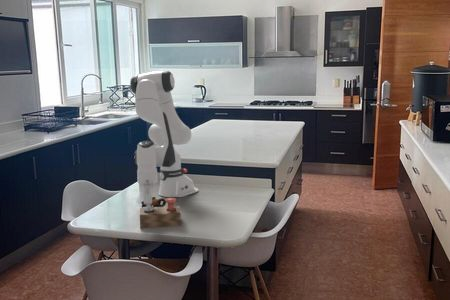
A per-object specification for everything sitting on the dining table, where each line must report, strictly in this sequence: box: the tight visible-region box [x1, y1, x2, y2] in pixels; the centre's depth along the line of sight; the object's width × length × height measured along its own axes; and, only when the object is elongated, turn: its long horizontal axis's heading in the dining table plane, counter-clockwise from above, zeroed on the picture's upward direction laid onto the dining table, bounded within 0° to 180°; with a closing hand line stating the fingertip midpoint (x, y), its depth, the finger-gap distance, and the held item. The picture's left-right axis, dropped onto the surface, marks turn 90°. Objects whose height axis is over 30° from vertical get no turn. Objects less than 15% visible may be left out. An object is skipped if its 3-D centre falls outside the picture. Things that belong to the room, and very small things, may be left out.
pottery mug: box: [140, 196, 167, 208], centre depth 228 cm, size 12×10×8 cm
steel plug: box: [143, 205, 154, 212], centre depth 210 cm, size 5×5×7 cm
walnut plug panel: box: [139, 205, 182, 229], centre depth 211 cm, size 18×10×6 cm, turn 98°
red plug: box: [165, 197, 177, 211], centre depth 211 cm, size 5×5×7 cm
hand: (148, 207), depth 209 cm, fingers closed, pressing on steel plug
